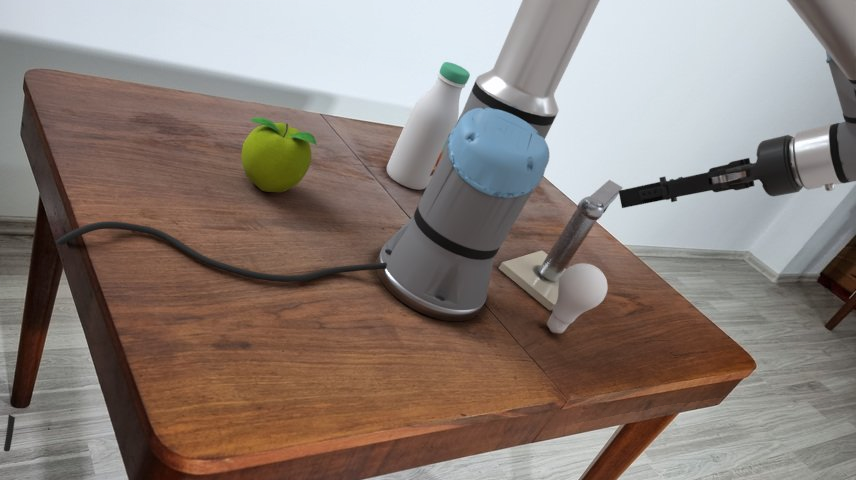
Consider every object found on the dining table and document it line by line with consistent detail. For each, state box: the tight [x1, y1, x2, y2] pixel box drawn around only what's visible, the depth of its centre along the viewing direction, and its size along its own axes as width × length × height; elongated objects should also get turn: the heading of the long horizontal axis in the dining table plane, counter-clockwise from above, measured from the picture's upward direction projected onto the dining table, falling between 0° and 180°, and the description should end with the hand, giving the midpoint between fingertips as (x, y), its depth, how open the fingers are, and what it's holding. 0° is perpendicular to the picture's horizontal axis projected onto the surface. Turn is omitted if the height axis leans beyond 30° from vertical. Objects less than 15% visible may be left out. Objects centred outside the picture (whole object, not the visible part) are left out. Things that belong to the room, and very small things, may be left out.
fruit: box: [240, 116, 317, 193], centre depth 97 cm, size 9×9×10 cm
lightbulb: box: [546, 262, 608, 334], centre depth 94 cm, size 6×6×11 cm
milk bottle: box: [386, 61, 471, 191], centre depth 114 cm, size 8×8×20 cm
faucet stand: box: [498, 249, 567, 311], centre depth 107 cm, size 12×10×1 cm
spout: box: [539, 179, 623, 281], centre depth 108 cm, size 16×4×14 cm, turn 146°
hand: (622, 198), depth 108 cm, fingers closed
